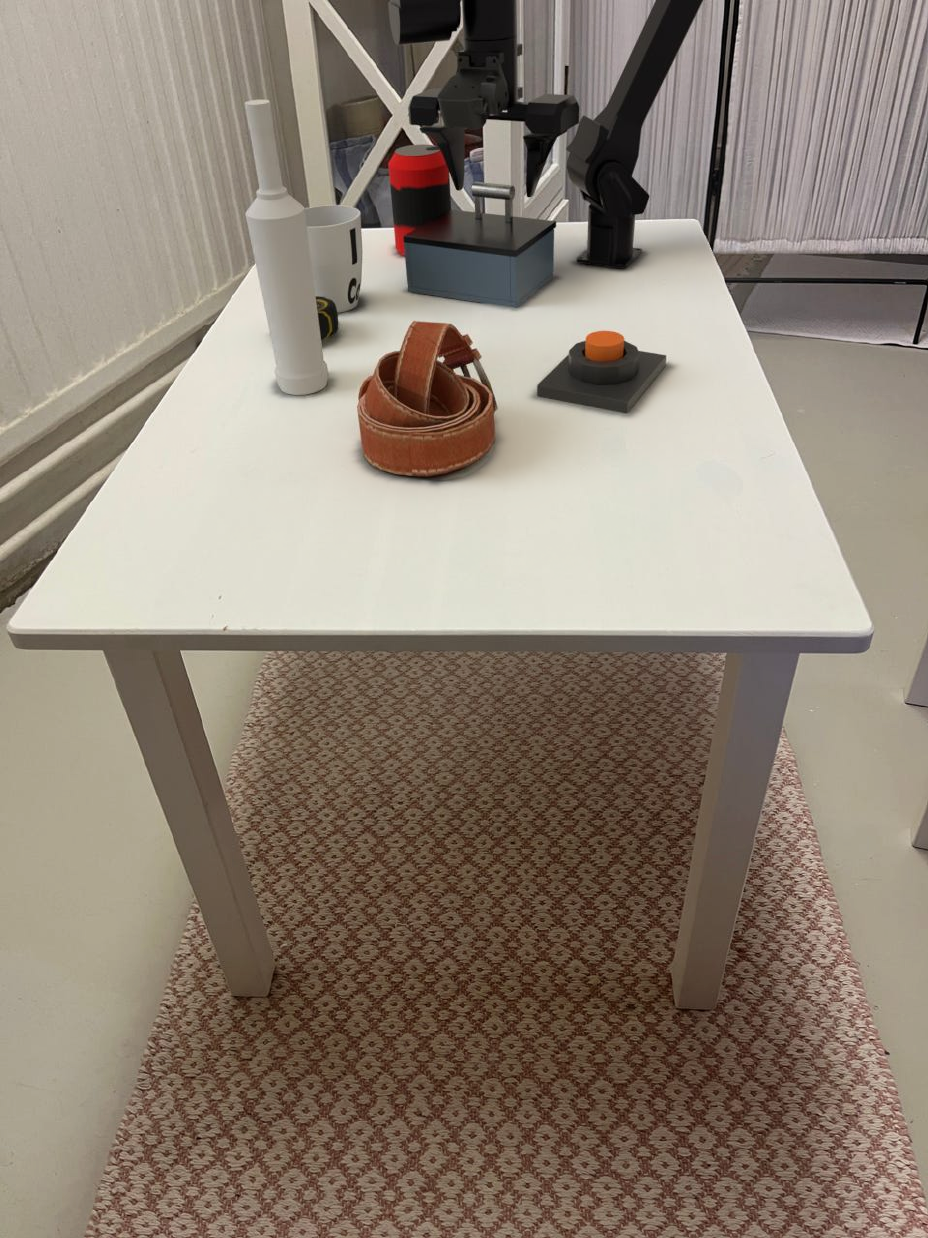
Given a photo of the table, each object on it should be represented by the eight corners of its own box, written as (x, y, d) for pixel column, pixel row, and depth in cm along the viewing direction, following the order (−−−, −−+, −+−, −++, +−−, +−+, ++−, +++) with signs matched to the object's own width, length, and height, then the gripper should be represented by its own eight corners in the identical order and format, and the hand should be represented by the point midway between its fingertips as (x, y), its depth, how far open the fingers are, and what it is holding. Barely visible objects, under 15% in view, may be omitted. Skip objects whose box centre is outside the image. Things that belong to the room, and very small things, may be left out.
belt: (530, 426, 83) (530, 318, 77) (450, 493, 75) (443, 378, 69) (406, 394, 89) (397, 291, 83) (320, 453, 81) (302, 343, 75)
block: (581, 352, 95) (582, 323, 93) (665, 366, 92) (668, 337, 90) (536, 396, 88) (536, 367, 86) (626, 414, 84) (629, 383, 82)
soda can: (458, 254, 120) (454, 153, 112) (401, 261, 119) (392, 160, 111) (446, 237, 126) (440, 139, 118) (391, 243, 125) (382, 146, 117)
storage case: (449, 263, 118) (446, 216, 114) (553, 277, 112) (554, 229, 108) (407, 291, 111) (403, 242, 107) (516, 308, 105) (516, 257, 102)
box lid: (449, 214, 114) (446, 173, 111) (556, 227, 109) (557, 184, 106) (403, 242, 107) (399, 199, 104) (516, 256, 101) (515, 211, 98)
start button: (593, 345, 90) (594, 327, 89) (628, 351, 89) (629, 333, 88) (579, 359, 88) (579, 342, 87) (615, 366, 86) (616, 348, 85)
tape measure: (329, 321, 105) (325, 288, 102) (348, 342, 100) (344, 308, 97) (270, 333, 103) (264, 299, 100) (287, 355, 98) (281, 321, 95)
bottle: (320, 397, 90) (275, 108, 74) (269, 394, 91) (215, 108, 75) (336, 374, 94) (297, 95, 78) (287, 371, 95) (239, 95, 79)
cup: (366, 316, 105) (355, 225, 99) (295, 319, 105) (280, 228, 99) (373, 290, 111) (363, 203, 105) (306, 293, 112) (293, 206, 105)
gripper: (375, 47, 96) (390, 205, 106) (539, 52, 89) (538, 221, 99) (428, 30, 104) (437, 179, 114) (583, 33, 97) (578, 192, 106)
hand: (494, 192), depth 108 cm, fingers open, 9 cm apart
